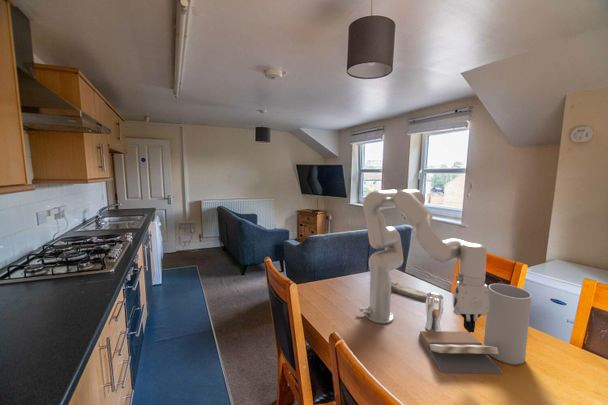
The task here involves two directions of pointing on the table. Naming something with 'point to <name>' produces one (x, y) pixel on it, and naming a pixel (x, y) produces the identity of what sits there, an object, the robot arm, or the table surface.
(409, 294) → the long grey stone
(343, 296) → the table surface
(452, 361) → the grey flat piece
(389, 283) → the robot arm
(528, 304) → the cylinder vase
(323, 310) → the table surface
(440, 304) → the beer glass
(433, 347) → the loose plank
